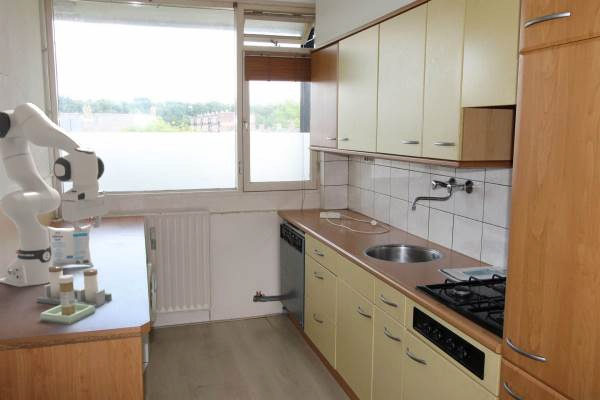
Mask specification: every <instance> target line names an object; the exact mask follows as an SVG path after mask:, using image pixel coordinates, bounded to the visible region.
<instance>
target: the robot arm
mask: <svg viewBox="0 0 600 400" xmlns="http://www.w3.org/2000/svg"><path fill="white" fill-rule="evenodd" d="M29 143H31V144H33V145H35V146H37V147H40V148H41V147H43V148H51V149H57V150H62V151H64V152H66V153H67V154H66V155H63V156H60V157H58V158H57V159H56V160H55V161H54V164H53V174H54V177H55V178H56V179H57V180H58V181H60V182H63V183H72V187H71V188H70V189H68V190H67V191H65V192H63V193H62V194H60V193H59V192H58V190H56V189H55V188H54V187H51V186H50V185H49V184H48V183H47V182H46V181H45V180H44V179H43V178H42V176H41V175H40V173H39V171H38V169H37V166H36V163H35V159H34V157H33V154H32V151H31V148H30V146H29ZM0 155H1V158H2V159H1V160H2V162H3V166H4V168H5V172H6V175H7V177H8V179H9V180H10V181H11V182H13V183H15V184H17V185H18V186H20V188H21V190H15V191H12V192H9V193H7V194H5V195H3V196H2V198H1V199H0V211H1V212H2V213H3V215H4V216H6V218H9V219H10V220H11V221H12V222H13V223H14V225H15V227H16V230H17V232H18V239H19V241H18V242H19V248H20V249H18V250H16V251H15V254H17V256H16V258H15V259H14V260H13V261H12V262H11V263H10V264H8V265H7V266H6V268H5V276H4V277H2V278H0V283H2V284H7V285H10V286H14V287H18V288H21V287H28V286H29V287H30V286H37V285H44V284H48V283H50V278H49V267H51V266H53V264H52V259H51V252H52V247H51V245H50V234H49V231H48V229H47V226H45V225H44V224H41V223H40V221H39V219H38V215H43V214H48V213H51V212H53V211H55V210H57V209H58V208H59V207H60V205H61V216H62V220H63V221H64V223H65V222H67V223H71V225H72V228H74V230H75V233H79V232H81V227H82V226H80V225H79V224H80V221H82V220H86V219H91V218H95V219H94V222H93V223H92V225H93V226H92V227H93V229H97V228H100V226H101V225H100V223H101V221H102V218H103V217H102V216H105V215H107V214H109V211H110V207H109V199H108V197H107V192H106V191H104V190H103V189H101V190H100V188H99V187H100V186H99V185H100V184H99V180H100V179H101V177H102V176H103V174H104V172H105V164H104V161H103V159H101V157H99V156H98V155H97V153H96V151H95V150H94V149H92V148H89V147H86V146H85V145H84V144H82V142H80V141H79V140H78V139H77V138H75V137H74V136H73V135H72V134H71V133H69V132H68V131H66V130H64V129H62V128H61V127H60V126H58V125H57V124H55V123H54V122H53V121H52V120H51V119H50V118H49V117H48V116H47V115H46V114H45V112H43V111H42V110H41V109H40V108H39V107H38V106H37V105H35V104H33V103H30V102H22V103H19V104H18V105H16V107H15V108H13V109H7V110H3V111H2V110H1V111H0ZM62 200H63V201H62ZM61 202H62V204H61Z"/></svg>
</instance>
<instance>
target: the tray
mask: <svg viewBox="0 0 600 400" xmlns="http://www.w3.org/2000/svg"><path fill="white" fill-rule="evenodd" d="M95 308H96V305H95V306H93V305H85V304H78V303H75V312H76V313H74V314H72V315H70V316H66V315H61V313H62V311H61V305H59V304H58V305H57V306H54V307H52V308H50V309H48V310H45V311H43V312H40V321H43V322H50V323H57V324H63V325H64V324H65V325H72V324H74V323H76V322H79V321H80V320H82V319H85V318H87V317H89V316H91V315H93V314H95V313H96V309H95Z"/></svg>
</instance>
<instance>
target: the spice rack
mask: <svg viewBox="0 0 600 400" xmlns="http://www.w3.org/2000/svg"><path fill="white" fill-rule="evenodd" d="M105 291H106V290H105V289H100V290H99V289H98V291H97V292H95V303H96V304H94V303H86V302H85V287H82V288H80V289H76V288H74V298H77V301H76V300H75V303H78V304H85V305H93V306H95V307H96V306H97V307H98V306H101V305H103V304H106V302H110V301H112V300H113V297H112V293H111V292H110V293H109V292H105ZM43 293H44V294H43V296H38V297H37V298H36V300H37V302H38V303H43V304H51V305H58V306H59V305H61V300H60V299H55V298H51V292H50V283H49V284H46V285H44V286H43Z"/></svg>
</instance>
